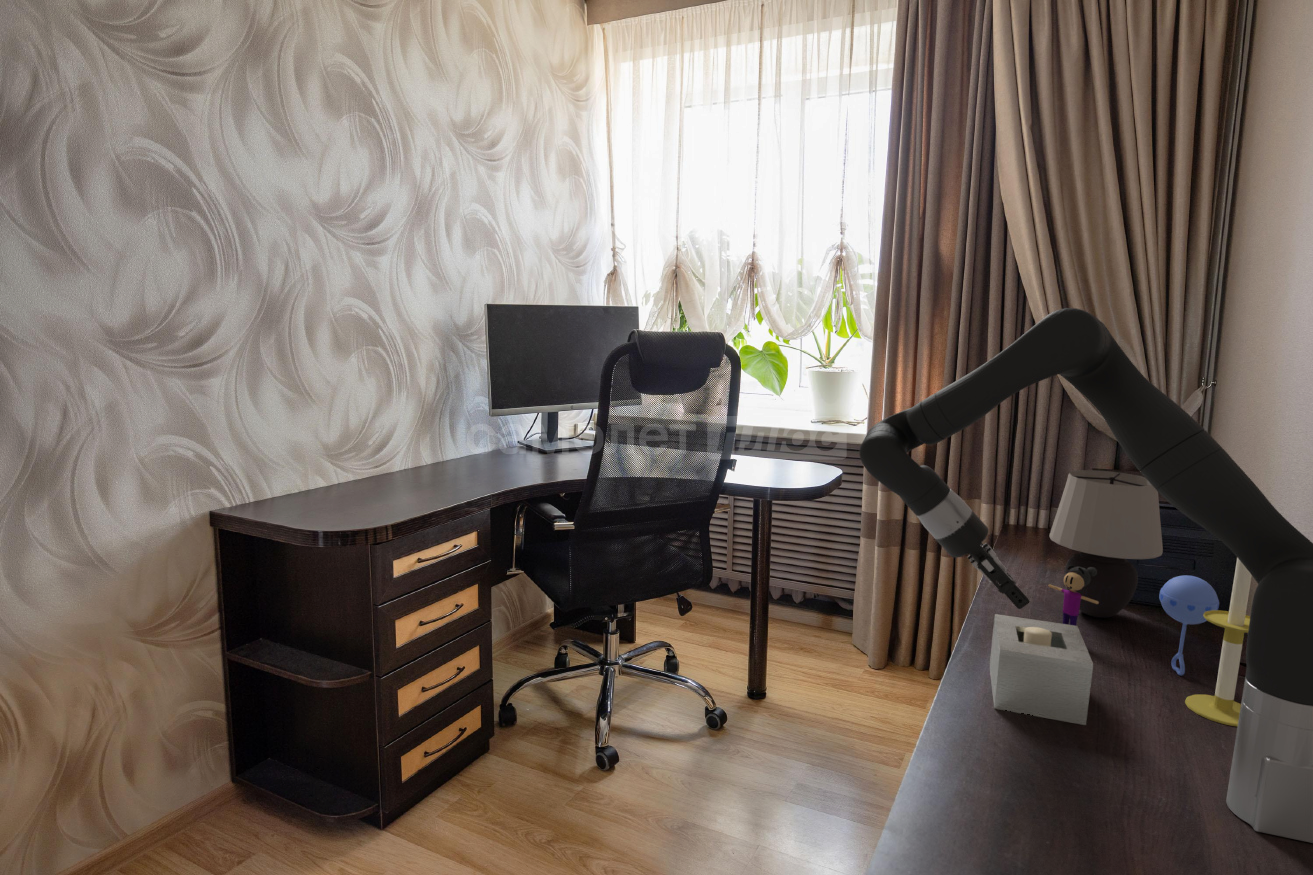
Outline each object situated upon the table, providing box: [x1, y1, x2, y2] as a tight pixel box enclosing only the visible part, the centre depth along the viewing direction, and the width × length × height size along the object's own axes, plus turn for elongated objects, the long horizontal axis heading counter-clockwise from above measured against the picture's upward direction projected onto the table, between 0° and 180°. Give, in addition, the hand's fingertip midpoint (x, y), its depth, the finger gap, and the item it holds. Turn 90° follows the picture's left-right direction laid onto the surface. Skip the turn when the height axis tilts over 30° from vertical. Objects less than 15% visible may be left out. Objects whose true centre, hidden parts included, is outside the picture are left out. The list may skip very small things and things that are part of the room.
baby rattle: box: [1158, 575, 1220, 676], centre depth 137 cm, size 9×9×18 cm
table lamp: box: [1049, 469, 1164, 619], centre depth 163 cm, size 21×21×30 cm
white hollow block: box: [989, 613, 1094, 726], centre depth 128 cm, size 16×13×10 cm
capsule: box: [1024, 627, 1052, 647], centre depth 128 cm, size 4×4×10 cm
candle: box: [1184, 557, 1253, 728], centre depth 123 cm, size 10×10×32 cm
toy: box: [1047, 565, 1099, 626], centre depth 151 cm, size 10×6×15 cm, turn 27°
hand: (1017, 595), depth 128 cm, fingers open, 8 cm apart
